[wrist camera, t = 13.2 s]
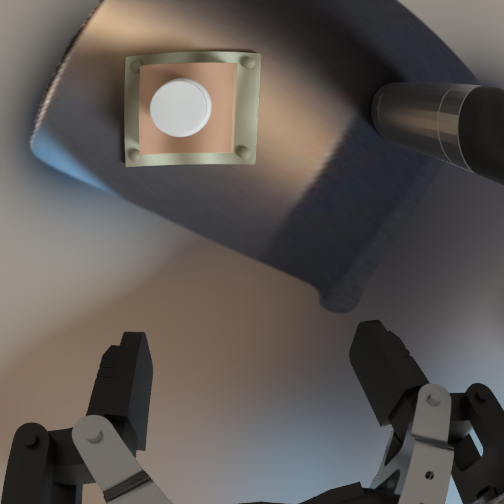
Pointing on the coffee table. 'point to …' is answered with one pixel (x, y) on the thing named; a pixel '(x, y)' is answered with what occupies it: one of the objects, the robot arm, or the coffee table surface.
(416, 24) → the coffee table surface
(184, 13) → the coffee table surface
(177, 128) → the supplement bottle
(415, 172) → the coffee table surface
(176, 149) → the stepped pedestal block
